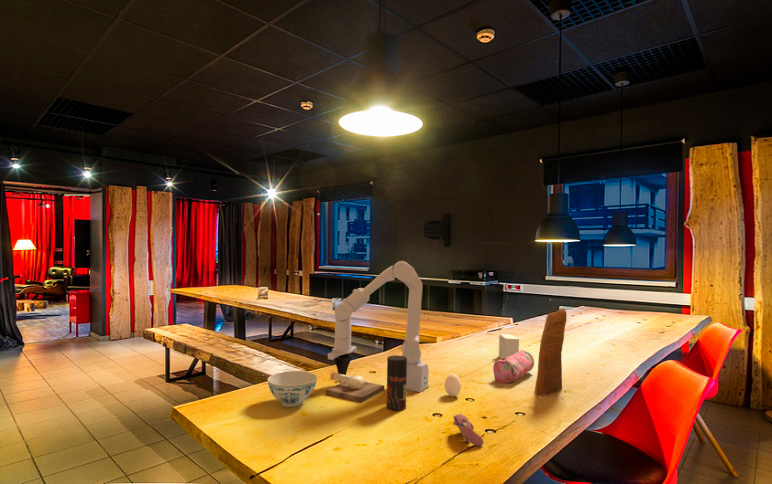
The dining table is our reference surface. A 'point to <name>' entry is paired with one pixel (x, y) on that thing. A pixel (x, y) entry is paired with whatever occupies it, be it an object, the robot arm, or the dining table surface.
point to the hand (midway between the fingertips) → (342, 376)
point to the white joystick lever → (349, 380)
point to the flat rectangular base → (355, 391)
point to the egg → (452, 385)
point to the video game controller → (467, 430)
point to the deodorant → (396, 382)
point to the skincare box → (508, 345)
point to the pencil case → (513, 366)
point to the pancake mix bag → (551, 354)
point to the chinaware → (292, 387)
